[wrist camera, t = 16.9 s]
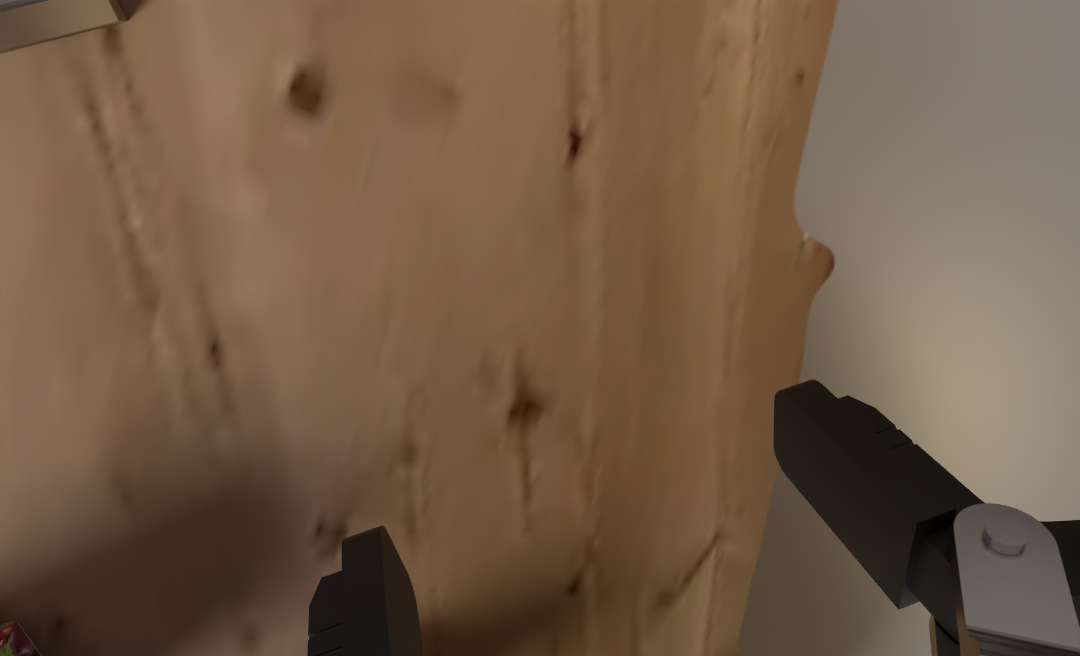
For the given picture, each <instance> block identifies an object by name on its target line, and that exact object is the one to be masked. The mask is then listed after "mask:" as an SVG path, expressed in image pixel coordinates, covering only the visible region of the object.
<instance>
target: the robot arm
mask: <svg viewBox="0 0 1080 656" xmlns="http://www.w3.org/2000/svg"><path fill="white" fill-rule="evenodd" d="M774 451H775V455H776V458H777V460H778V463H779V465H780V467H781V469H782V470H783V472H784V473H785V475H786V476H787V477H788V478H789V479H790V481H791V482H792V483H793V484H794V485H795V487H796V488H797V489H798V490H799V491H800V493H801V494H802V495H803V496H804V497H805V499H806V500H807V501H808V502H809V503H810V505H811V506H812V507H813V508H814V509H815V510H816V512H817V513H818V514H819V515H820V516H821V518H822V519H823V520H824V521H825V522H826V524H827V525H828V526H829V527H830V528H831V530H832V531H833V532H834V533H835V534H836V536H837V537H838V538H839V539H840V540H841V541H842V543H843V544H844V545H845V546H846V547H847V549H848V550H849V551H850V552H851V553H852V555H853V556H854V557H855V558H856V559H857V560H858V562H859V563H860V564H861V565H862V566H863V568H864V569H865V570H866V571H867V572H868V574H869V575H870V576H871V577H872V578H873V579H874V581H875V582H876V583H877V584H878V586H879V587H880V588H881V589H882V590H883V592H885V594H886V595H887V596H888V597H889V599H890V600H891V601H892V602H893V603H894V605H895V606H896V607H897V608H898V609H901V608H904V607H906V606H909V605H911V604H914V603H916V602H919V601H920V602H921V603H922V604H923V605H924V606H925V607H926V609H927V610H928V611H929V612H930V613H931V615H930V619H929V627H930V639H931V652H932V656H1080V520H1072V521H1053V522H1039V521H1037V520H1036V519H1035V518H1033V517H1032V516H1030V515H1028V514H1026V513H1025V512H1022V511H1020V510H1018V509H1015V508H1012V507H1009V506H1005V505H1000V504H991V503H984V502H983V501H982V500H980V499H979V498H978V497H977V496H975V495H974V494H973V493H972V492H971V491H970V490H969V489H967V488H966V487H965V486H964V485H963V484H961V483H960V482H959V481H958V480H957V479H956V478H955V477H954V476H953V475H951V474H950V473H949V472H948V471H947V470H946V469H944V468H943V467H942V466H941V465H940V464H939V463H938V462H936V461H935V460H934V459H933V458H932V457H931V456H930V455H928V454H927V453H926V452H925V451H924V450H923V449H921V448H920V447H919V446H918V445H917V444H915V445H914V444H913V442H912V440H911V439H910V438H909V437H908V436H906V435H905V434H904V433H903V432H902V431H901V430H900V429H899V430H897V429H896V427H895V425H894V424H893V423H891V421H889V420H888V419H887V418H886V417H885V416H884V415H883V414H881V413H880V412H879V411H878V410H877V409H876V408H874V407H872V406H870V405H868V404H865V403H863V402H861V401H859V400H856V399H854V398H852V397H850V396H845V397H842V398H839V399H838V398H836V397H835V396H834V395H833V394H832V393H831V392H830V391H829V390H828V389H827V388H826V387H824V386H823V385H822V384H821V383H820V382H818V381H816V380H809V381H806V382H803V383H800V384H797V385H794V386H791V387H789V388H786V389H783V390H780V391H778V392H777V393H776V394H775V400H774ZM308 635H309V640H308V656H423V650H422V643H421V635H420V627H419V619H418V611H417V604H416V599H415V594H414V590H413V587H412V583H411V580H410V578H409V575H408V573H407V571H406V569H405V567H404V565H403V563H402V561H401V559H400V556H399V554H398V552H397V550H396V548H395V546H394V544H393V542H392V540H391V538H390V536H389V534H388V532H387V530H386V529H385V527H384V526H380V527H377V528H374V529H371V530H368V531H365V532H362V533H359V534H356V535H353V536H350V537H348V538H345V539H343V542H342V571H339V572H336V573H334V574H331V575H328V576H325V577H322V578H321V580H320V583H319V585H318V587H317V590H316V592H315V594H314V597H313V599H312V601H311V604H310V606H309V629H308Z"/></svg>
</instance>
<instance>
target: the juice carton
mask: <svg viewBox="0 0 1080 656" xmlns="http://www.w3.org/2000/svg"><path fill="white" fill-rule="evenodd" d="M0 656H42V655H41V654H40V653H39V651H38V650H37V648H36V647H35V645H34V644H33V643H32V641H31V640H30V638H29V637H28V635H27V634H26V633H25V631H24V630H23V628H22V627H21V625H20V624H19V623H18V621H17V620H14V621H11V622H7V623H3V624H0Z"/></svg>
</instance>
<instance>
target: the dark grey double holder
mask: <svg viewBox="0 0 1080 656" xmlns="http://www.w3.org/2000/svg"><path fill="white" fill-rule="evenodd" d="M126 21H127V19H126V17H125V14H124V12H123V10H122V8H121V6H120V4H119V2H118V0H0V54H1V53H5V52H9V51H13V50H17V49H20V48H24V47H28V46H32V45H36V44H40V43H44V42H48V41H52V40H56V39H60V38H64V37H67V36H71V35H75V34H79V33H83V32H87V31H91V30H95V29H99V28H103V27H107V26H111V25H114V24H118V23H122V22H126Z"/></svg>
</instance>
